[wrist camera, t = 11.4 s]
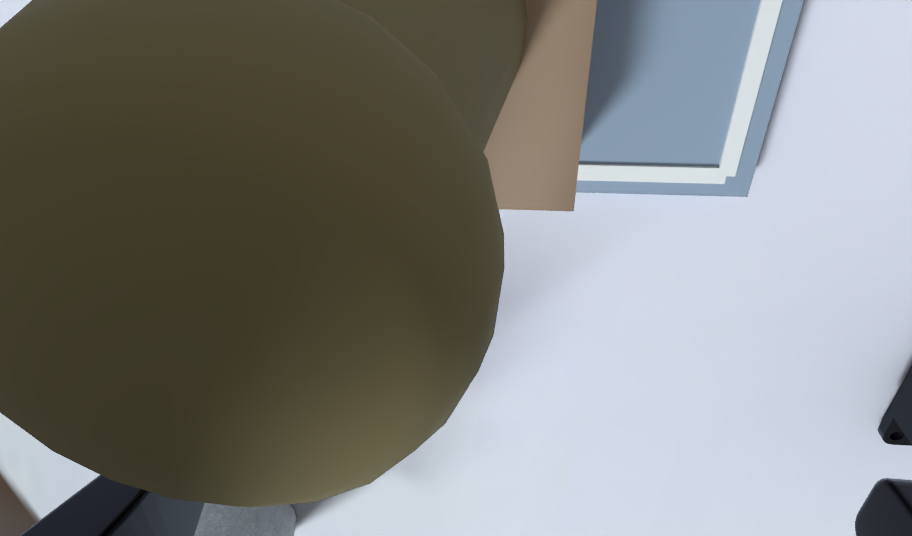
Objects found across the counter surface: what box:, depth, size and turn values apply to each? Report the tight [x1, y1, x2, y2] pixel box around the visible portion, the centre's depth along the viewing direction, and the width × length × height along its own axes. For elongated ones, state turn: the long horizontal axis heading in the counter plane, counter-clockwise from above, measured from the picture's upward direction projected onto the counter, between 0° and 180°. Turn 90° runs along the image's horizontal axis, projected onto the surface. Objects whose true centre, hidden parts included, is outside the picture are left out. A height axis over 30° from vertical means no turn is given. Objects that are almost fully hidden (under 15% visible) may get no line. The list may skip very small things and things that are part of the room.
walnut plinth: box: [483, 0, 597, 211], centre depth 15 cm, size 9×9×3 cm
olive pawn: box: [0, 0, 528, 507], centre depth 9 cm, size 6×6×11 cm
